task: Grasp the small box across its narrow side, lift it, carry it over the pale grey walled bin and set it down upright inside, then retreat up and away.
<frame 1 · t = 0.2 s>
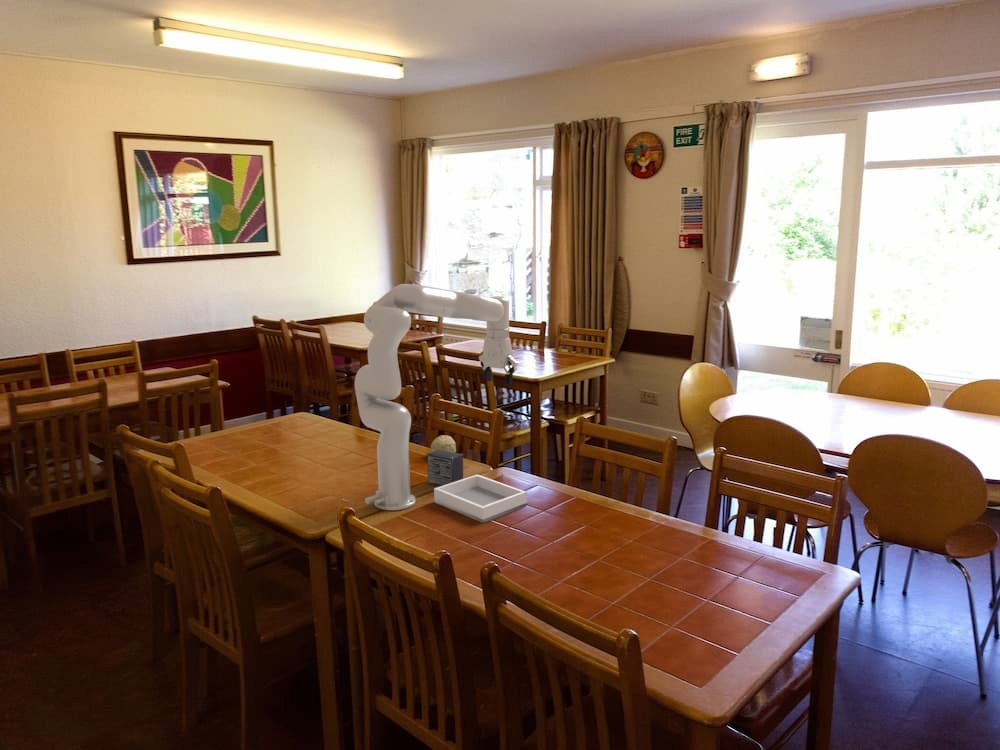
hand: (498, 383, 243), 31 cm above the table, tool pointing down, fingers open, 9 cm apart
small box: (446, 484, 236), on the table
decorative object: (443, 456, 264), on the table
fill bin: (480, 504, 218), on the table
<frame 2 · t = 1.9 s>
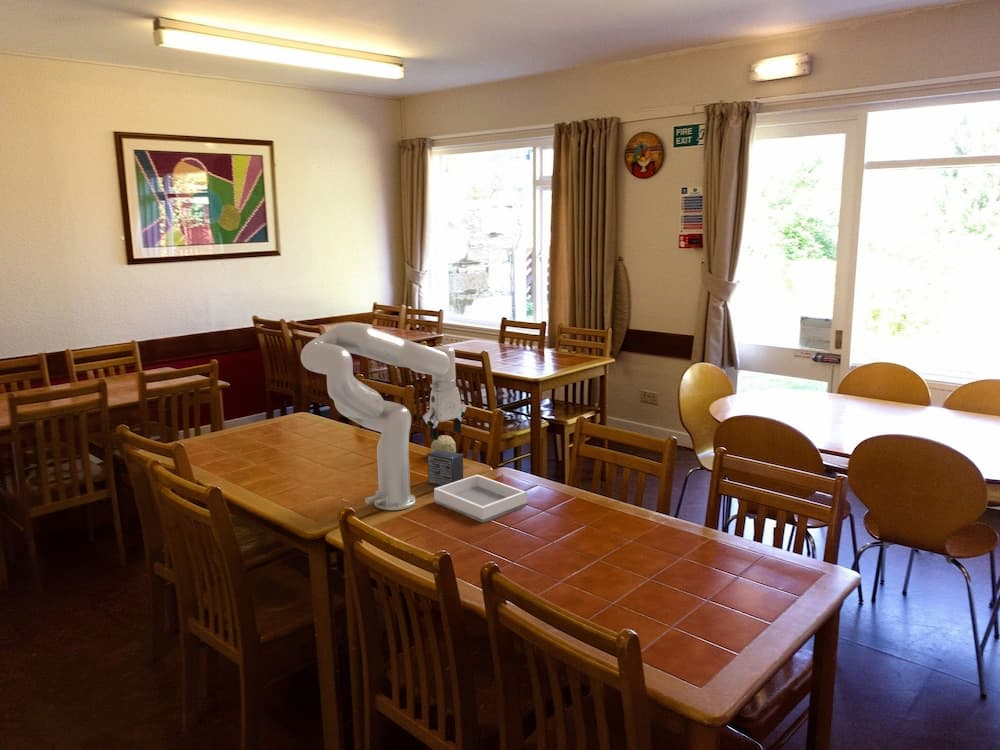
hand: (446, 435, 232), 16 cm above the table, tool pointing down, fingers open, 9 cm apart
nothing on the table moved.
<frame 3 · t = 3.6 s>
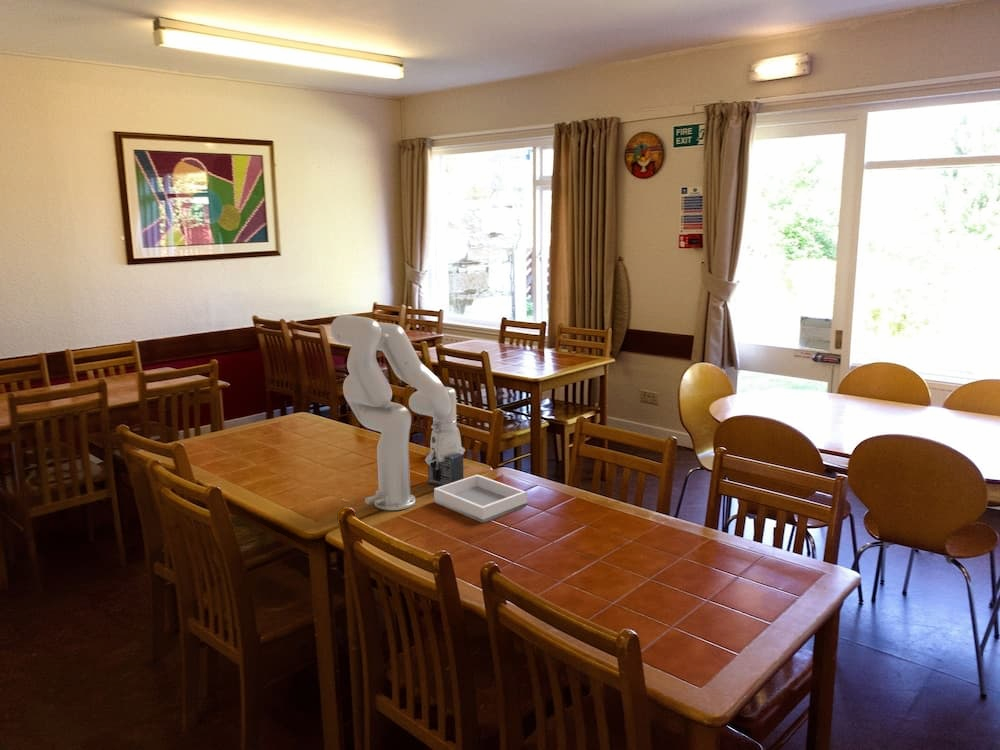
hand: (446, 476, 235), 2 cm above the table, tool pointing down, fingers closed on small box, 7 cm apart
small box: (446, 484, 236), on the table, touching gripper
everything else where it was.
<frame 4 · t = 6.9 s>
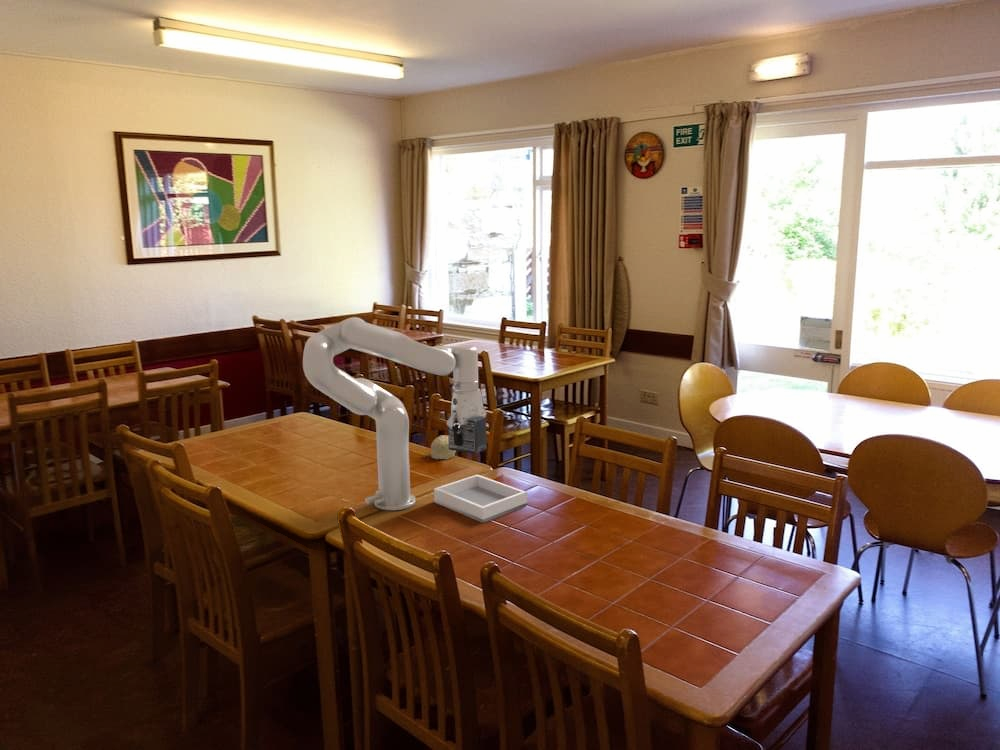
hand: (467, 441, 221), 18 cm above the table, tool pointing down, fingers closed on small box, 7 cm apart
small box: (467, 449, 221), point 15 cm above the table, touching gripper
everything else where it was.
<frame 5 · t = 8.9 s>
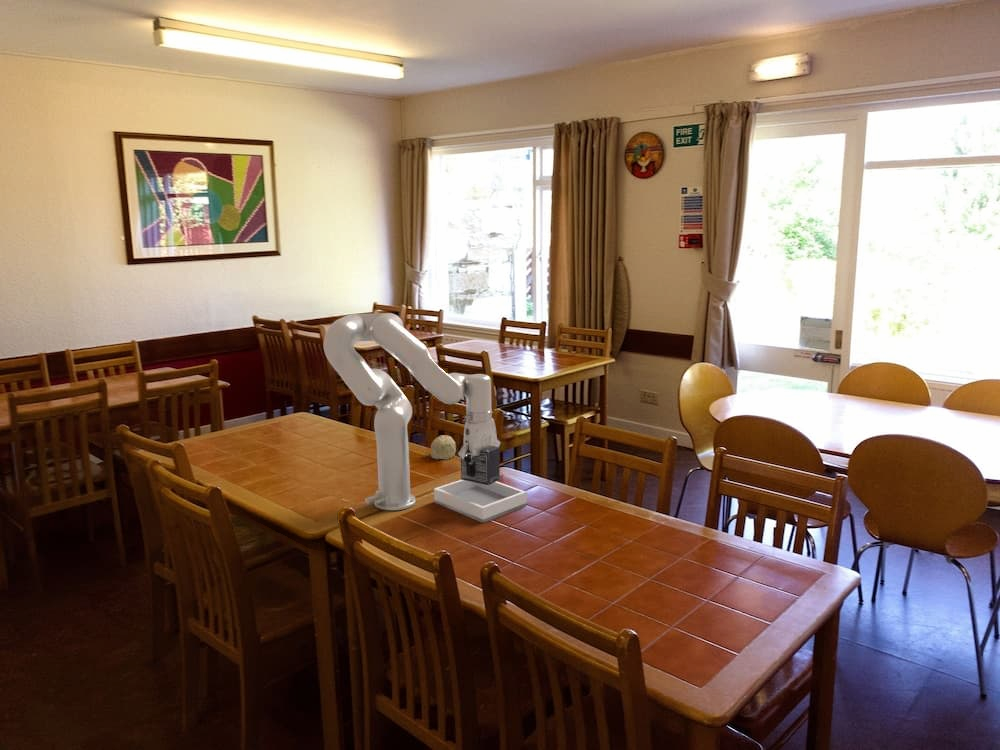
hand: (480, 472, 216), 10 cm above the table, tool pointing down, fingers closed on small box, 7 cm apart
small box: (480, 480, 216), point 8 cm above the table, touching gripper
everything else where it was.
when the fingers open (5 cm above the table, at t = 10.5 s): small box drops 1 cm, resting on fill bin.
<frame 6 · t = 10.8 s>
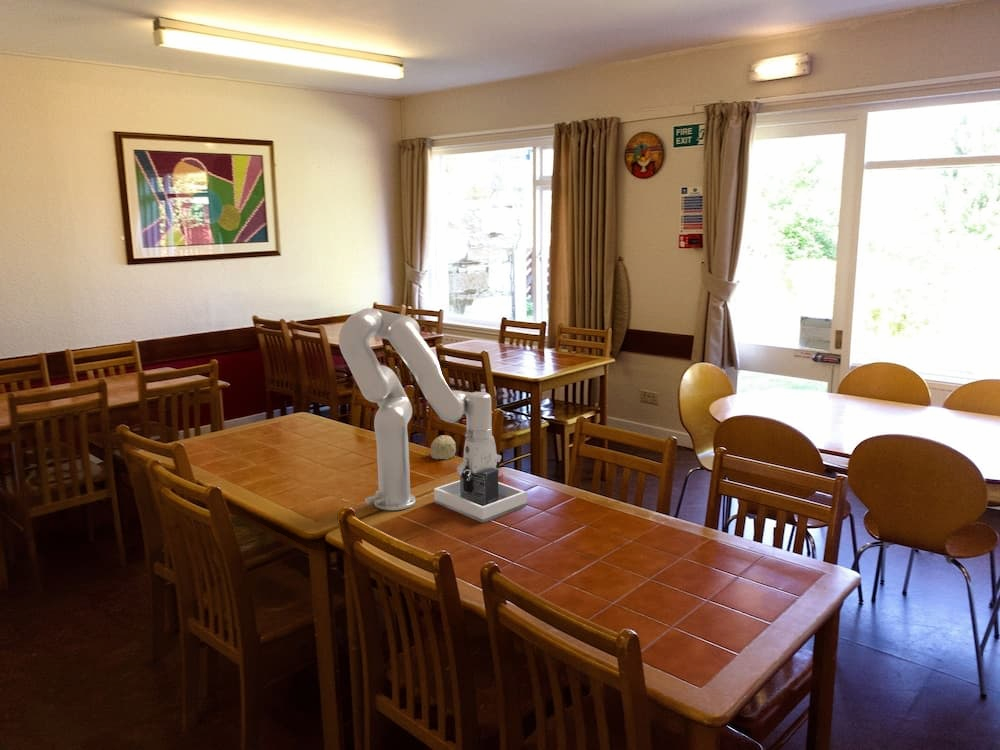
hand: (479, 487, 217), 5 cm above the table, tool pointing down, fingers open, 9 cm apart
small box: (479, 501, 218), point 1 cm above the table, touching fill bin
everything else where it was.
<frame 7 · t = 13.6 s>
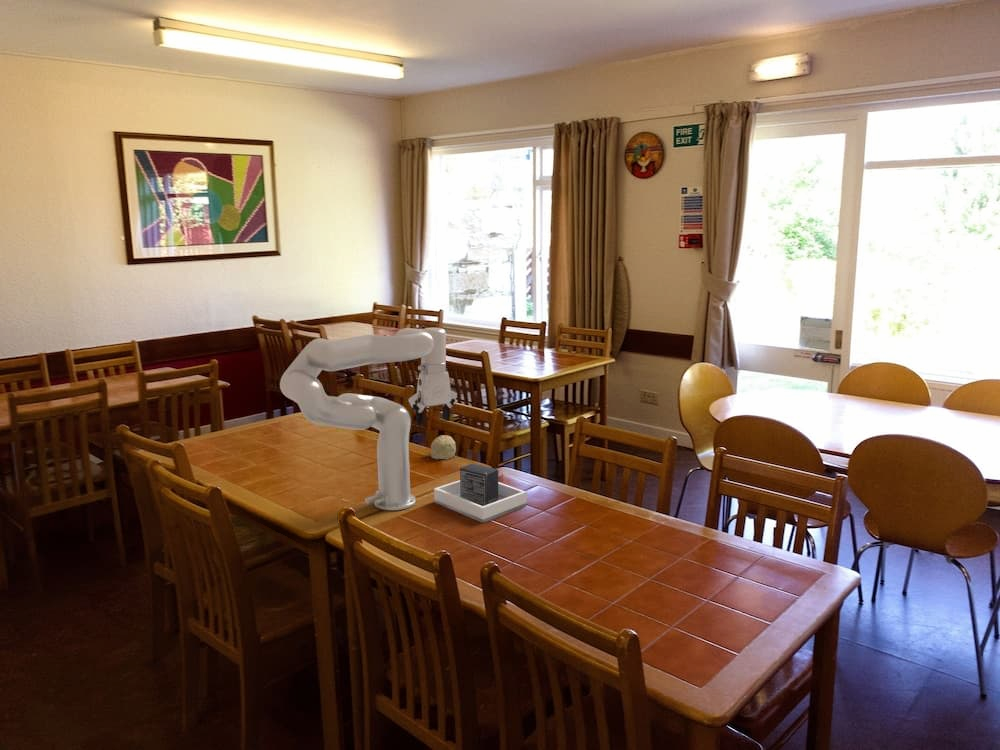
hand: (433, 422, 223), 23 cm above the table, tool pointing down, fingers open, 9 cm apart
nothing on the table moved.
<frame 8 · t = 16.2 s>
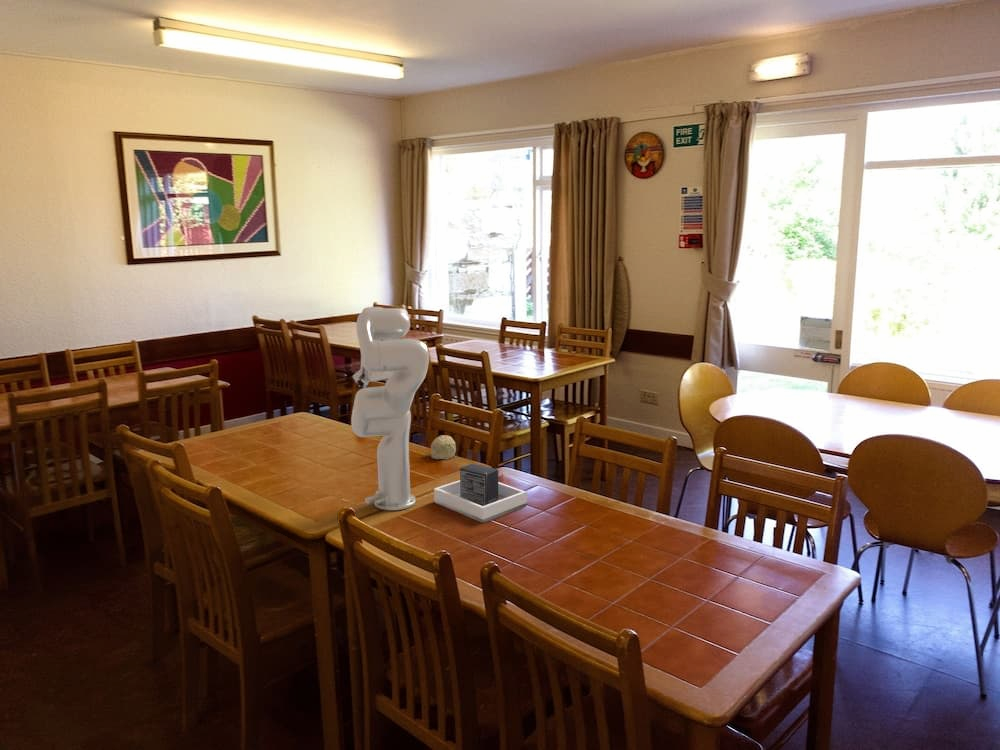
hand: (377, 396, 236), 28 cm above the table, tool pointing down, fingers open, 9 cm apart
nothing on the table moved.
at the end: small box inside the target area on the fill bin (0.1 cm from its centre), point 0.8 cm above the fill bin's base; small box tilted 0°; the gripper is holding nothing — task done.
